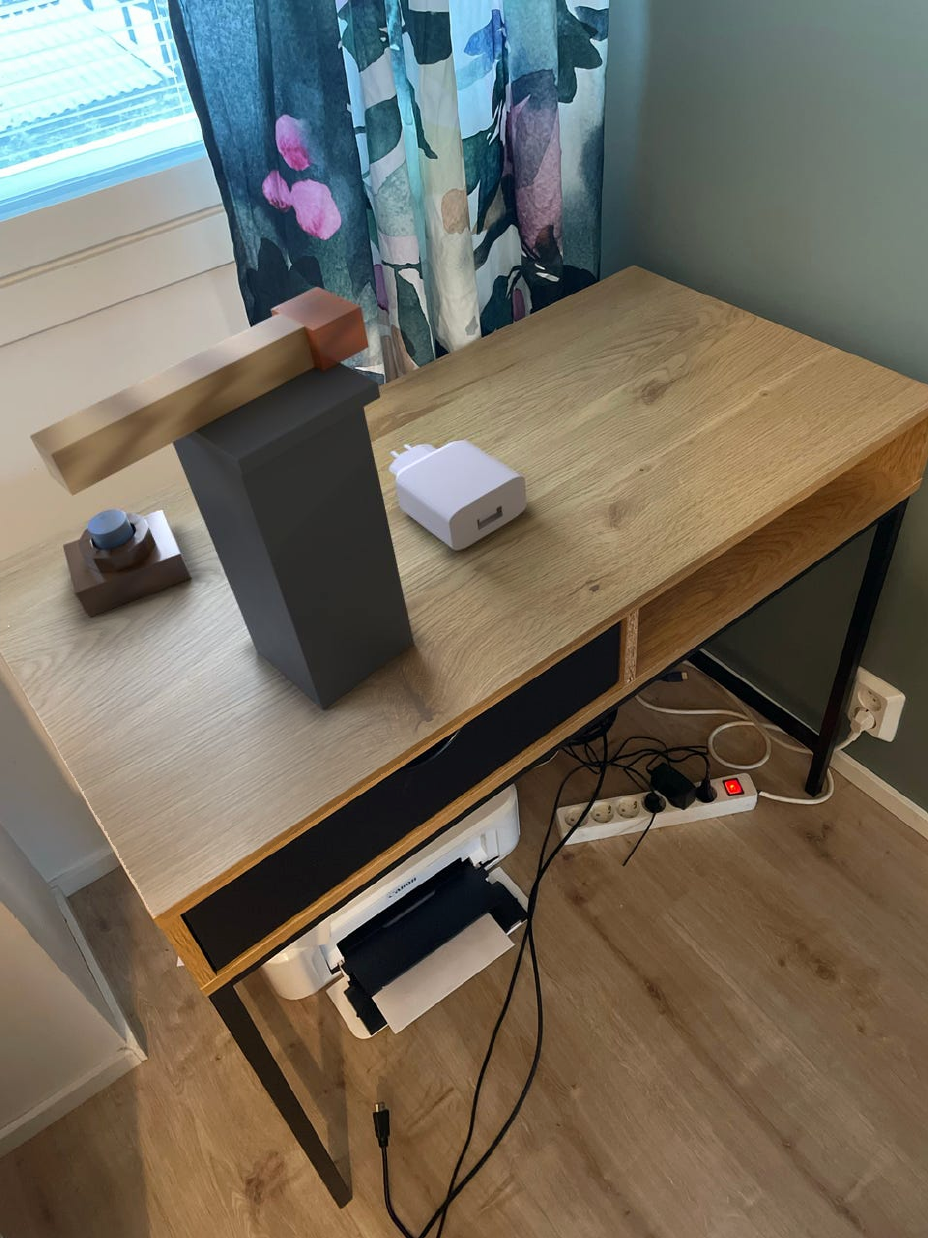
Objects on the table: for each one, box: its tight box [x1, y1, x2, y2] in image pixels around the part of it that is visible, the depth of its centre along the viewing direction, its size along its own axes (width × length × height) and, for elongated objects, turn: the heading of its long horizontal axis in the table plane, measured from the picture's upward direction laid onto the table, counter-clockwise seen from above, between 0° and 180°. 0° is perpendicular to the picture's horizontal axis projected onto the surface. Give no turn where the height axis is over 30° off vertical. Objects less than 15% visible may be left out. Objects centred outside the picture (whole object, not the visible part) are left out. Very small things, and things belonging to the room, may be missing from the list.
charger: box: [388, 439, 527, 551], centre depth 90 cm, size 5×9×15 cm
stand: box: [172, 362, 415, 711], centre depth 69 cm, size 11×13×26 cm
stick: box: [29, 286, 370, 496], centre depth 57 cm, size 22×5×3 cm, turn 133°
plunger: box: [86, 508, 134, 550], centre depth 84 cm, size 4×4×2 cm
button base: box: [62, 509, 192, 618], centre depth 86 cm, size 10×8×5 cm
